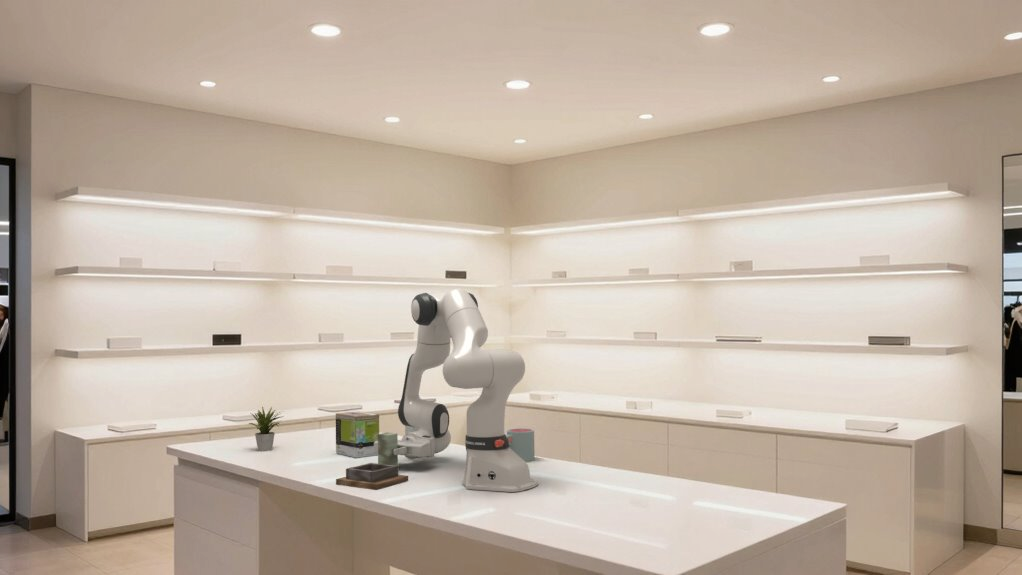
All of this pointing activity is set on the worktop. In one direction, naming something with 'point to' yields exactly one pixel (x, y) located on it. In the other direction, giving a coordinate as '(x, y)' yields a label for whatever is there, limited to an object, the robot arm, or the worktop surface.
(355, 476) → the display stand
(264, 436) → the house plant
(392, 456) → the green peg
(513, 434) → the mug
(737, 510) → the worktop surface
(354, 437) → the tea box
